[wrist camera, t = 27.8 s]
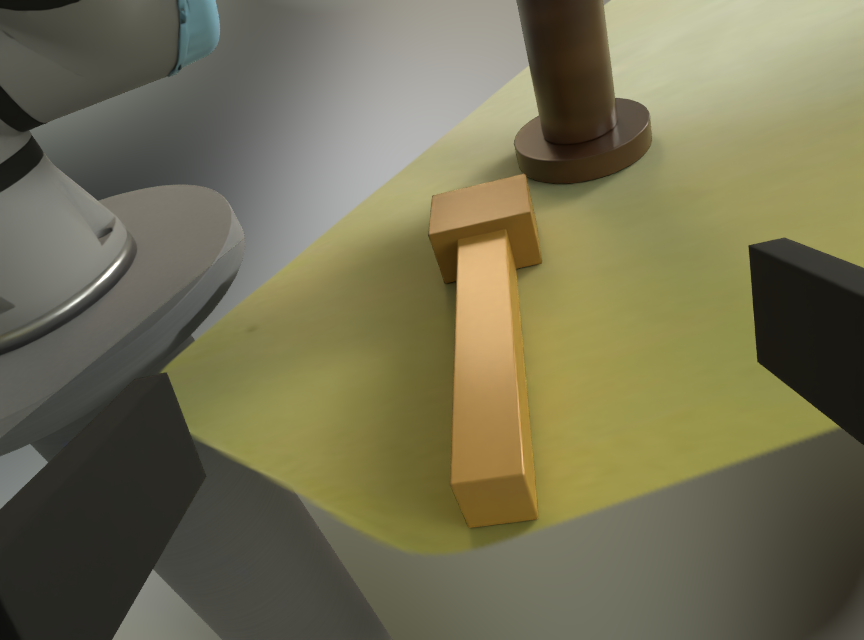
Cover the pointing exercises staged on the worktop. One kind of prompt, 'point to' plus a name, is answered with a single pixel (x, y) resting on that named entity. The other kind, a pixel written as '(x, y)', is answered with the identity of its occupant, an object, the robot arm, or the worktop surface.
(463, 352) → the wooden t-shaped block
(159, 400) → the robot arm
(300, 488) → the worktop surface
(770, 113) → the worktop surface
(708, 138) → the worktop surface
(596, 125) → the dark brown spool
